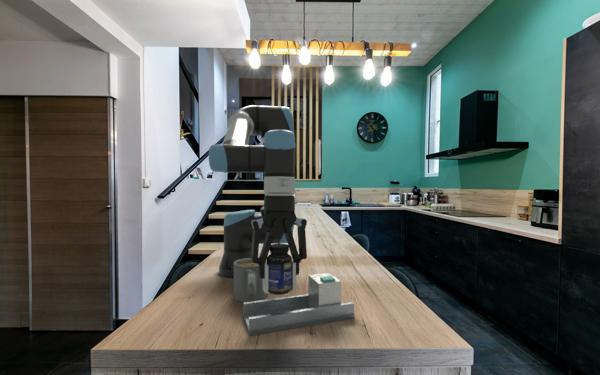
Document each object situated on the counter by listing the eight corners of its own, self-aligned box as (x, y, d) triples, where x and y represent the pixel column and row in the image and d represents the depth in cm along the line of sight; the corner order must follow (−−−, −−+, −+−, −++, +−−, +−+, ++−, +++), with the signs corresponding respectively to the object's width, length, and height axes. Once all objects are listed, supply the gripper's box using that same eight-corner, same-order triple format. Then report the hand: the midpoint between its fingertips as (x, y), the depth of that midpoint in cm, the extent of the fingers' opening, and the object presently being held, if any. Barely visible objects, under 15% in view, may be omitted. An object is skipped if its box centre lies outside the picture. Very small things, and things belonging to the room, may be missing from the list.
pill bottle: (288, 296, 65) (288, 248, 65) (262, 294, 66) (263, 247, 66) (294, 287, 71) (294, 243, 71) (270, 285, 72) (271, 242, 72)
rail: (243, 316, 71) (243, 277, 71) (336, 302, 80) (336, 268, 80) (249, 335, 61) (249, 291, 61) (354, 317, 70) (354, 279, 70)
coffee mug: (237, 289, 90) (237, 257, 90) (268, 289, 90) (269, 257, 90) (226, 307, 76) (226, 270, 76) (263, 307, 76) (263, 270, 76)
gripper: (242, 195, 62) (241, 300, 62) (321, 194, 68) (321, 290, 68) (237, 194, 69) (237, 289, 69) (310, 194, 76) (310, 280, 75)
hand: (279, 289), depth 69 cm, fingers closed on pill bottle, 6 cm apart
